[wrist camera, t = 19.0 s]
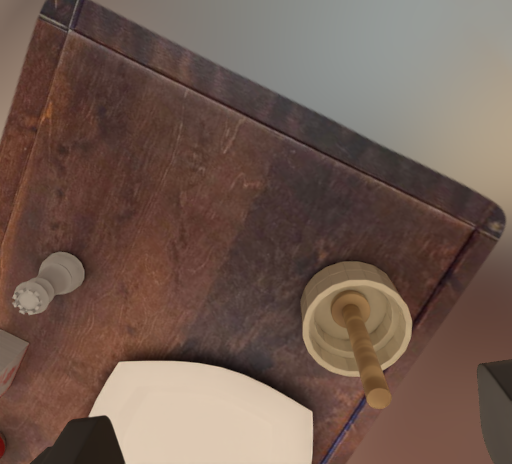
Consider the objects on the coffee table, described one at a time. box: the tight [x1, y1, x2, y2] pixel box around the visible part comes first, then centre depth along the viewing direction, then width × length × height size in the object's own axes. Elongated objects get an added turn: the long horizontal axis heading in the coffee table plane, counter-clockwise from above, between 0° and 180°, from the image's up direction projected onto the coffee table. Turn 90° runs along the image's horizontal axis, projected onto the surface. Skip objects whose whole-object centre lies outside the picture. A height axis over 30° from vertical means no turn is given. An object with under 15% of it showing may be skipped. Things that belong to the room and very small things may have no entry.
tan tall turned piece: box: [330, 290, 392, 409], centre depth 40 cm, size 4×4×15 cm
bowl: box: [301, 261, 412, 376], centre depth 45 cm, size 10×10×6 cm
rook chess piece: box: [13, 252, 84, 315], centre depth 45 cm, size 4×4×8 cm
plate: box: [89, 361, 313, 464], centre depth 54 cm, size 27×27×2 cm
